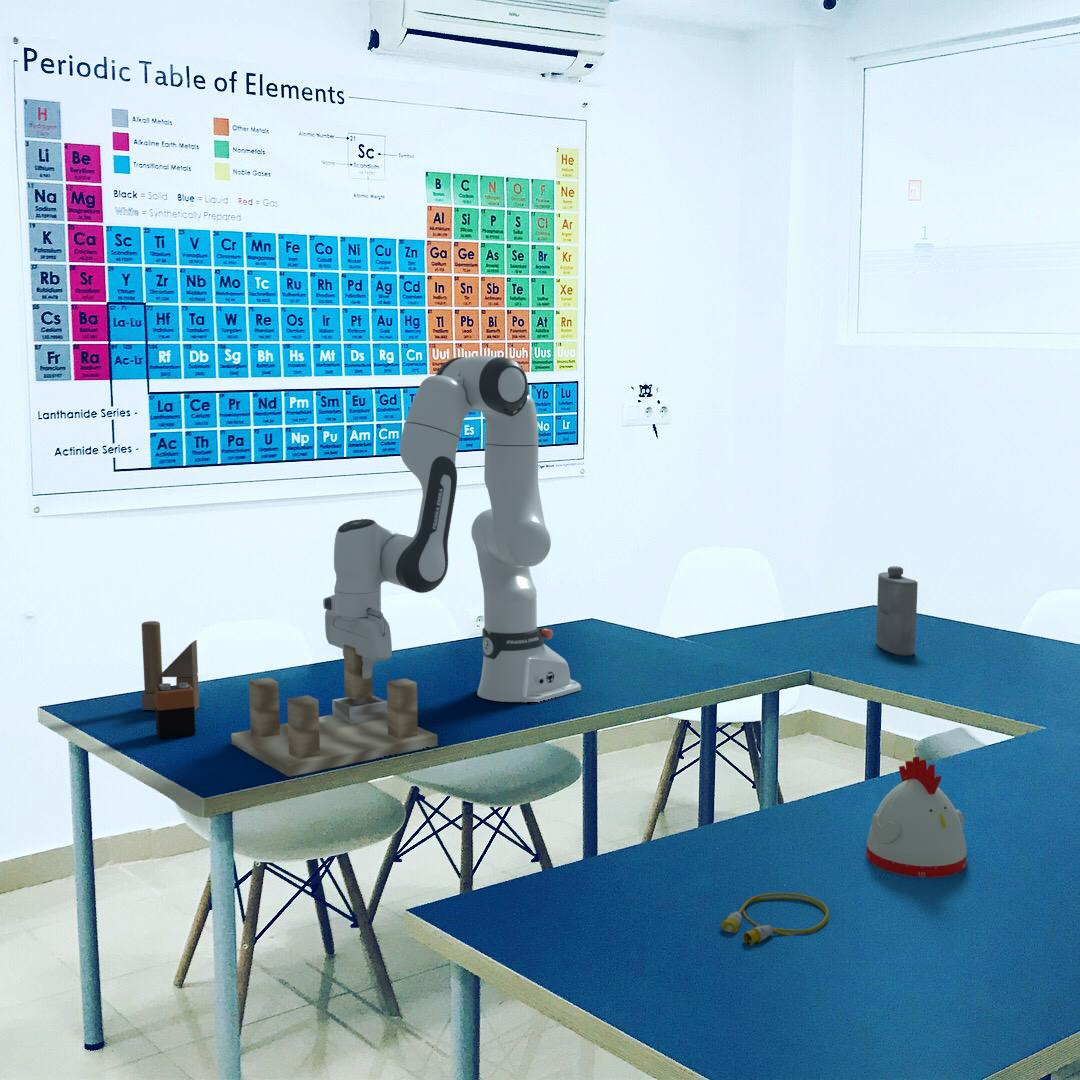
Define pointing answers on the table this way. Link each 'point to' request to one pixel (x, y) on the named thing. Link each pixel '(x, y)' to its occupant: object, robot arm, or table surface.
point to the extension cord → (765, 930)
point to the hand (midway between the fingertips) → (358, 675)
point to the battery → (175, 710)
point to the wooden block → (180, 667)
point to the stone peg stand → (331, 728)
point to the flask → (896, 612)
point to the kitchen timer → (917, 827)
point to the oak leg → (355, 676)
